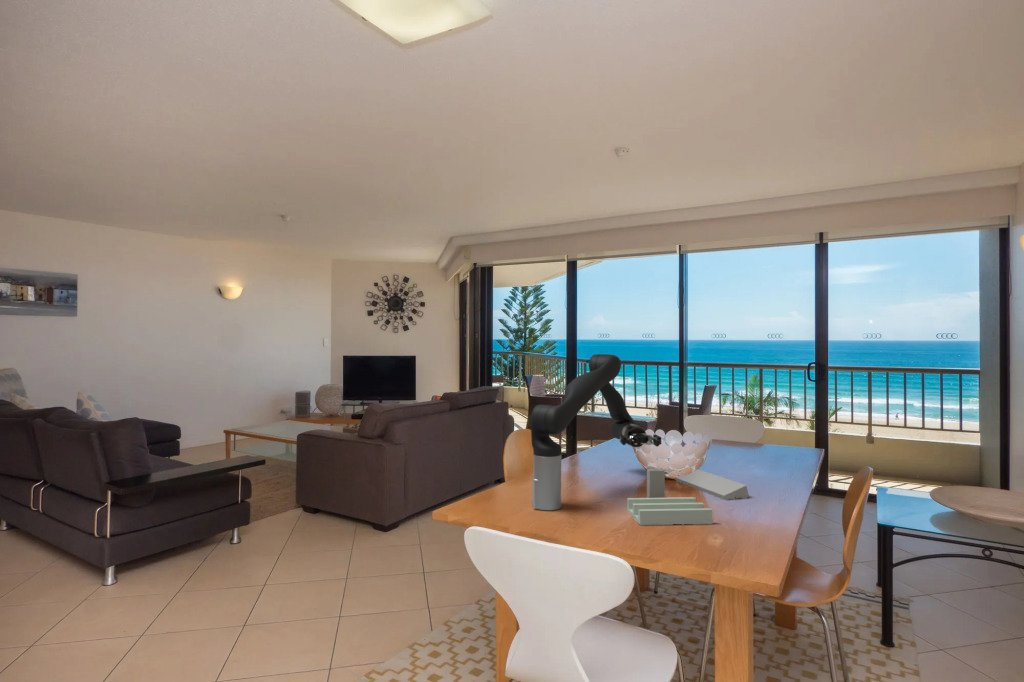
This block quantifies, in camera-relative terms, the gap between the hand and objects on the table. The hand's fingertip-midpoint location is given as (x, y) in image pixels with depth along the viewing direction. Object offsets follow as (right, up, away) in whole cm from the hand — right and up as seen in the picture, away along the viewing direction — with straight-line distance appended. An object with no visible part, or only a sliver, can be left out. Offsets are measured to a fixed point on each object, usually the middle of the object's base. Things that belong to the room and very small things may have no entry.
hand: (645, 443), depth 195 cm
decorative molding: (+25, -19, +13) cm, 34 cm away
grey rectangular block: (0, -18, -12) cm, 22 cm away
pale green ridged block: (+1, -18, -24) cm, 30 cm away
